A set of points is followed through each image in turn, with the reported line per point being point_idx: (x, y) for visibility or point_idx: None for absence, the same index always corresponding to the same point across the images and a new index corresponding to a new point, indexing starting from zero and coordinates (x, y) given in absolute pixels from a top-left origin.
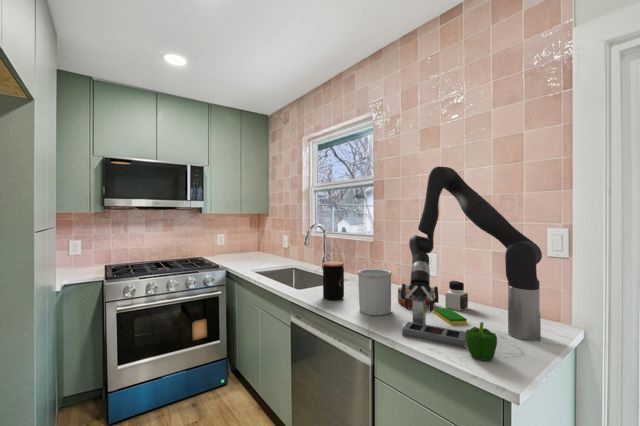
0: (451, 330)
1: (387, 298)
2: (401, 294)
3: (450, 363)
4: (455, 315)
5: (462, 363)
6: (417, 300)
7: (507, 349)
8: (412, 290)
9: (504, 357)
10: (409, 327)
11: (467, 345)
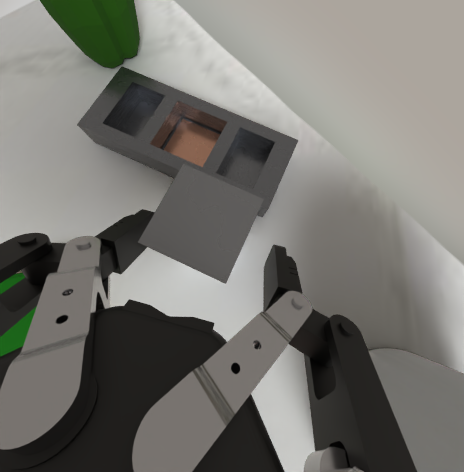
0: (125, 135)
1: (416, 443)
2: (356, 339)
3: (201, 27)
4: (11, 328)
5: (174, 28)
6: (224, 188)
7: (16, 88)
8: (246, 359)
9: (58, 52)
10: (271, 152)
11: (133, 18)
